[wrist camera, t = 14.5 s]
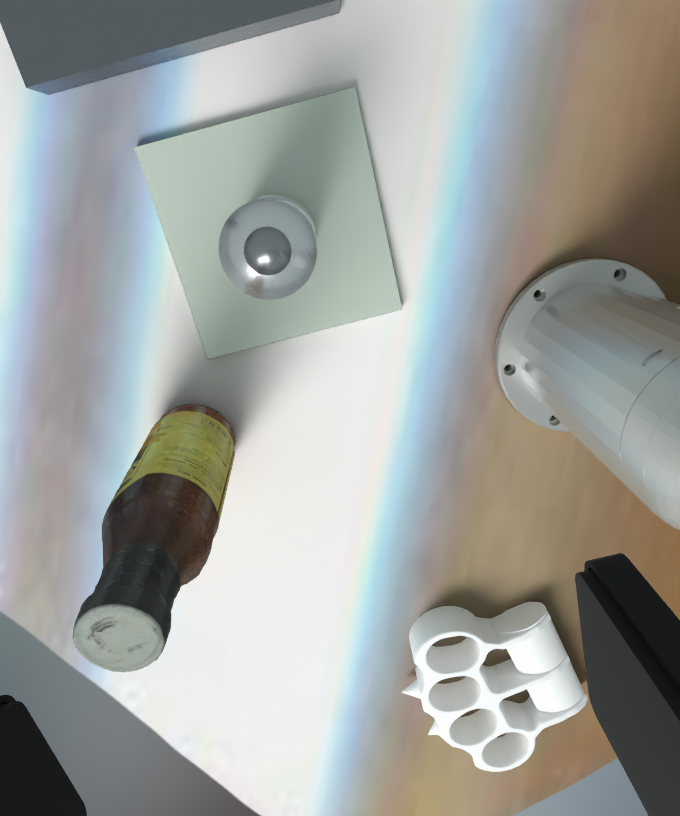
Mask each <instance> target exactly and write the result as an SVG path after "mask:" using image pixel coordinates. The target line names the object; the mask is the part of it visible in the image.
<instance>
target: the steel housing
mask: <svg viewBox="0 0 680 816" xmlns="http://www.w3.org/2000/svg"><path fill="white" fill-rule="evenodd" d="M340 4H341V0H0V23H1V25H2V28H3V30H4V33H5V35H6V38H7V40H8V43H9V45H10V48H11V50H12V53H13V56H14V58H15V61H16V63H17V66H18V68H19V71H20V73H21V76H22V78H23V81H24V83H25V86H26V88H29V89H32V90H35V91H38V92H42V93H45V94H48V95H49V94H53V93H57V92H60V91H64V90H67V89H71V88H74V87H78V86H81V85H85V84H89V83H92V82H96V81H99V80H103V79H106V78H110V77H114V76H117V75H121V74H124V73H128V72H131V71H135V70H138V69H142V68H146V67H149V66H153V65H156V64H160V63H163V62H167V61H171V60H174V59H178V58H181V57H185V56H188V55H192V54H195V53H199V52H203V51H206V50H210V49H213V48H217V47H220V46H224V45H228V44H231V43H235V42H238V41H242V40H245V39H249V38H253V37H256V36H260V35H263V34H267V33H270V32H274V31H277V30H281V29H285V28H288V27H292V26H295V25H299V24H302V23H306V22H310V21H313V20H317V19H320V18H324V17H327V16H331V15H334V14H338V13H339V10H340Z"/></svg>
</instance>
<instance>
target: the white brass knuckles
mask: <svg viewBox="0 0 680 816" xmlns="http://www.w3.org/2000/svg"><path fill="white" fill-rule="evenodd" d="M454 636H467V638H466V639H465V640H464V641H462V642H460V643H458V644H455V645H450V646H444V647H435V646H432V644H434V643H435V642H436V641H438V640H440V639H443V638H448V637H454ZM409 640H410V644H411V649H412V654H413V658H414V662H415V664H416V665H417V667H416V668H415V672H416V677H417V679H416V680H415V681H414V682H413V683H412V684H411V685H409V686H408V687H407V688H406V689H405V690H404V691H402V693H405V694H408V695H411V696H414V697H417V698H420V699H421V701H422V705H423V710H424V711H425V712H426V713H428V714H430V715H431V716H433V717H434V718H435V721H434V723H433V725H432V727H431V729H430V731H429V733H428V735H439V736H440V737H442V738H443V739H444V740H445V741H446V742H447V743H449V744H450V745H451V746H452V747H457V748H461V749H463V750H465V751H467V752H468V753H470V754H471V755H472V757H473V760H474V764H475V766H476V767H478V768H480V769H483V770H486V771H493V772H499V771H506V770H510V769H513V768H515V767H517V766H519V765H521V764H522V763H524V762H525V761H526V760H527V759H528V758H529V757H530V756H531V754H532V752H533V750H534V747H535V738H536V736H537V735H538V734H539V733H540V732H541V731H542V729H544V728H546V727H548V726H551V725H554V724H556V723H559V722H561V721H563V720H565V719H567V718H568V717H571V716H573V715H574V714H576V713H577V712H579V711H580V710H581V709H582V708H583V707H584V706H585V704H586V702H587V696H586V694H585V692H584V691H583V689H582V686H581V684H580V682H579V680H578V678H577V675H576V673H575V671H574V669H573V667H572V664H571V662H570V659H569V657H568V655H567V653H566V651H565V649H564V647H563V644H562V642H561V640H560V638H559V636H558V633H557V631H556V629H555V627H554V625H553V622H552V620H551V617H550V615H549V613H548V611H547V609H546V607H545V605H544V604H542V603H540V602H526V603H523V604H520V605H518V606H516V607H513V608H511V609H508V610H506V611H505V612H503V613H502V614H500V615H498V616H495V617H493V618H490V619H489V618H479V617H475V616H474V615H473V614H472V613H471V612H469V611H468V610H466V609H463V608H460V607H456V606H442V607H438V608H434V609H432V610H429V611H427V612H426V613H424V614H423V615H421V616H420V617H419V618H418V619H417V620H416V621H415V623H414V624H413V626H412V628H411V630H410V634H409ZM493 649H507V651H508V653H509V655H510V657H511V659H509V660H506V661H504V662H502V663H499V664H497V665H494V666H491V667H486V666H484V665H482V664H483V662H484V661H485V659H486V656H487V654H488V652H489V651H491V650H493ZM457 676H467V677H465V678H464V679H462V680H460V681H457V682H452V683H446V684H437V682H439V681H441V680H443V679H446V678H451V677H457ZM526 689H527V690H528V692H529V694H530V697H529V698H528V699H527V700H526V701H525V702H523V703H515V702H512V701H505V700H503V699H504V698H506V697H509V696H511V695H514V694H516V693H519V692H521V691H524V690H526ZM473 709H480V710H478V711H477V712H475V713H474V714H472V715H469V716H466V717H460V716H461V715H463V714H464V713H466V712H468V711H470V710H473ZM504 733H507V734H505V735H504V736H502V737H499V738H496V737H498V736H499V735H501V734H504Z"/></svg>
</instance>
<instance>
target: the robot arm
mask: <svg viewBox="0 0 680 816" xmlns="http://www.w3.org/2000/svg"><path fill="white" fill-rule="evenodd" d="M616 270H617V274H616V275H615V276H614V273H615V271H616ZM536 290H538V291H539V293H538V295H537V296H534V293H535V291H536ZM494 360H495V370H496V375H497V378H498V381H499V384H500V387H501V389H502V390H503V392H504V394H505V396H506V397H507V399H508V400H509V401H510V402H511V404H512V405H513V406H514V407H515V409H516V410H518V411H519V412H520V413H521V414H522V415H523V416H524V417H526V418H527V419H529V420H530V421H532V422H534V423H536V424H538V425H539V426H542V427H545V428H548V429H551V430H557V431H566V432H571V433H572V434H573V435H574V436H575V437H576V438H578V439H579V440H580V441H581V442H582V443H583V444H584V445H585V446H586V447H587V448H588V449H589V450H590V451H591V452H592V453H593V454H594V455H595V456H596V457H597V458H598V459H599V460H600V461H601V462H602V463H603V464H604V465H605V466H606V467H607V468H608V469H609V470H610V471H611V472H612V473H613V474H614V475H615V476H616V477H617V478H618V479H619V480H620V481H622V482H623V483H624V484H625V485H626V486H627V487H628V488H629V489H630V490H631V491H632V492H633V493H634V494H635V495H636V496H637V497H638V498H639V499H640V500H641V501H642V502H643V503H644V504H645V505H646V506H647V507H648V508H649V509H650V510H651V511H652V512H654V513H655V514H656V515H657V516H658V517H659V518H661V519H662V520H663V521H665V522H666V523H668V524H669V525H671V526H672V527H674V528H676V529H677V530H679V531H680V305H679V304H676V303H674V302H671V301H668V300H667V299H666V297H665V294H664V293H663V292H662V290H661V289H660V288H659V286H658V285H657V284H656V282H655V281H654V280H652V279H651V278H650V277H649V276H648V275H646V274H645V273H644V272H643V271H641V270H639V269H637V268H635V267H633V266H631V265H629V264H626V263H622V262H619V261H615V260H609V259H602V258H590V259H579V260H575V261H572V262H568V263H564V264H562V265H559V266H557V267H555V268H553V269H551V270H548V271H547V272H545V273H544V274H542V275H541V276H539V277H538V278H536V279H535V280H533V281H532V282H531V283H530V284H529V285H528V286H527V287H526V288H525V289H524V290H523V291H522V292H521V293H520V294H519V295H518V296H517V297H516V299H515V300H514V302H513V303H512V304H511V306H510V307H509V308H508V310H507V312H506V314H505V316H504V318H503V320H502V322H501V324H500V328H499V331H498V335H497V338H496V343H495V354H494ZM508 364H509V367H508V368H507V369H504V368H505V366H506V365H508ZM551 416H553V417H552V418H551ZM575 581H576V590H577V598H578V607H579V615H580V624H581V632H582V641H583V649H584V658H585V666H586V675H587V684H588V692H589V697H590V701H591V704H592V707H593V710H594V712H595V715H596V717H597V719H598V721H599V723H600V725H601V727H602V728H603V730H604V732H605V734H606V736H607V738H608V740H609V742H610V744H611V745H612V747H613V749H614V751H615V753H616V755H617V757H618V759H619V760H620V762H621V764H622V766H623V768H624V770H625V772H626V774H627V776H628V777H629V779H630V781H631V783H632V785H633V787H634V789H635V791H636V793H637V794H638V796H639V798H640V800H641V802H642V804H643V806H644V808H645V810H646V811H647V813H648V815H649V816H680V620H679V619H678V618H677V617H676V615H675V614H674V613H673V612H672V611H671V609H670V608H669V607H668V606H667V605H666V603H665V602H664V601H663V600H662V599H661V597H660V596H659V595H658V594H657V593H656V591H655V590H654V589H653V588H652V587H651V585H650V584H649V583H648V582H647V581H646V579H645V578H644V577H643V576H642V575H641V573H640V572H639V571H638V570H637V569H636V567H635V566H634V565H633V564H632V563H631V561H630V560H629V559H628V558H627V557H626V556H625V555H624V554H621V553H619V554H615V555H611V556H606V557H602V558H598V559H593V560H589V561H586V562H585V571H584V572H579V573H576V575H575ZM86 815H87V814H86V808H85V805H84V803H83V801H82V800H81V798H80V796H79V795H78V793H77V791H76V789H75V788H74V786H73V785H72V783H71V781H70V780H69V778H68V776H67V775H66V773H65V771H64V770H63V768H62V766H61V765H60V763H59V761H58V760H57V758H56V756H55V755H54V753H53V752H52V750H51V748H50V746H49V745H48V743H47V741H46V740H45V738H44V736H43V735H42V733H41V731H40V730H39V728H38V727H37V725H36V723H35V722H34V720H33V718H32V717H31V715H30V713H29V712H28V710H27V708H26V707H25V705H24V704H23V703H22V702H19V701H17V702H16V700H15V699H14V698H13V697H12V696H9V695H1V696H0V816H86Z"/></svg>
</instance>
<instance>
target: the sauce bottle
mask: <svg viewBox="0 0 680 816" xmlns="http://www.w3.org/2000/svg"><path fill="white" fill-rule="evenodd" d="M234 445H235V437H234V434H233V431H232V428H231V427H230V425H229V424H228V423H227V422H226V420H225V419H224V418H223V417H222V416H221V415H220V414H219V413H218V412H216V411H215V410H212V409H210V408H208V407H204V406H201V405H190V404H189V405H183V406H179V407H176V408H174V409H172V410H171V411H169V412H168V413H167V414H165V415H163V416H162V418H161V419H160V420H159V421H158V422H157V423H156V424H155V425H154V427H153V428H152V430H151V431H150V433H149V435H148V437H147V439H146V440H145V442H144V444H143V446H142V448H141V449H140V451H139V453H138V455H137V457H136V458H135V460H134V462H133V463H132V466H131V468H130V469H129V470H128V472H127V474H126V476H125V478H124V480H123V482H122V484H121V485H120V488H119V489H118V490H117V492H116V494H115V496H114V498H113V500H112V501H111V503H110V506H109V507H108V509H107V511H106V514H105V516H104V519H103V524H102V541H103V570H102V575H101V577H100V580H99V582H98V584H97V585H96V587H95V591H94V592H93V594H92V595H90V596H89V597H88V598H87V599H86V600H85V601H84V603H83V604H82V606H81V609H80V611H79V614H78V616H77V619H76V621H75V625H74V630H73V640H74V644H75V646H76V648H77V650H78V651H79V652H80V653H81V654H82V655H83V656H84V657H85V658H86V659H87V660H88V661H90V662H91V663H93V664H95V665H97V666H99V667H102V668H104V669H107V670H110V671H116V672H129V671H136V670H139V669H142V668H144V667H146V666H148V665H150V664H151V663H152V662H154V661H156V660H157V659H158V657H159V656H160V654H161V653H162V651H163V649H164V647H165V644H166V641H167V638H168V634H169V632H170V628H171V609H172V606H173V602H174V599H175V598H176V596H177V593H178V592H179V590H180V587H181V586H182V585H184V584H187V583H188V582H190V581H191V580H193V579H194V578H196V577H197V576H198V575H199V574H200V571H201V570H202V568H203V566H204V565H205V564H206V561H207V559H208V556H209V554H210V550H211V546H212V541H213V538H214V536H215V534H216V532H217V529H218V525H219V520H220V516H221V512H222V508H223V504H224V499H225V495H226V491H227V486H228V482H229V478H230V473H231V469H232V465H233V461H234V456H235V451H234Z"/></svg>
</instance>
